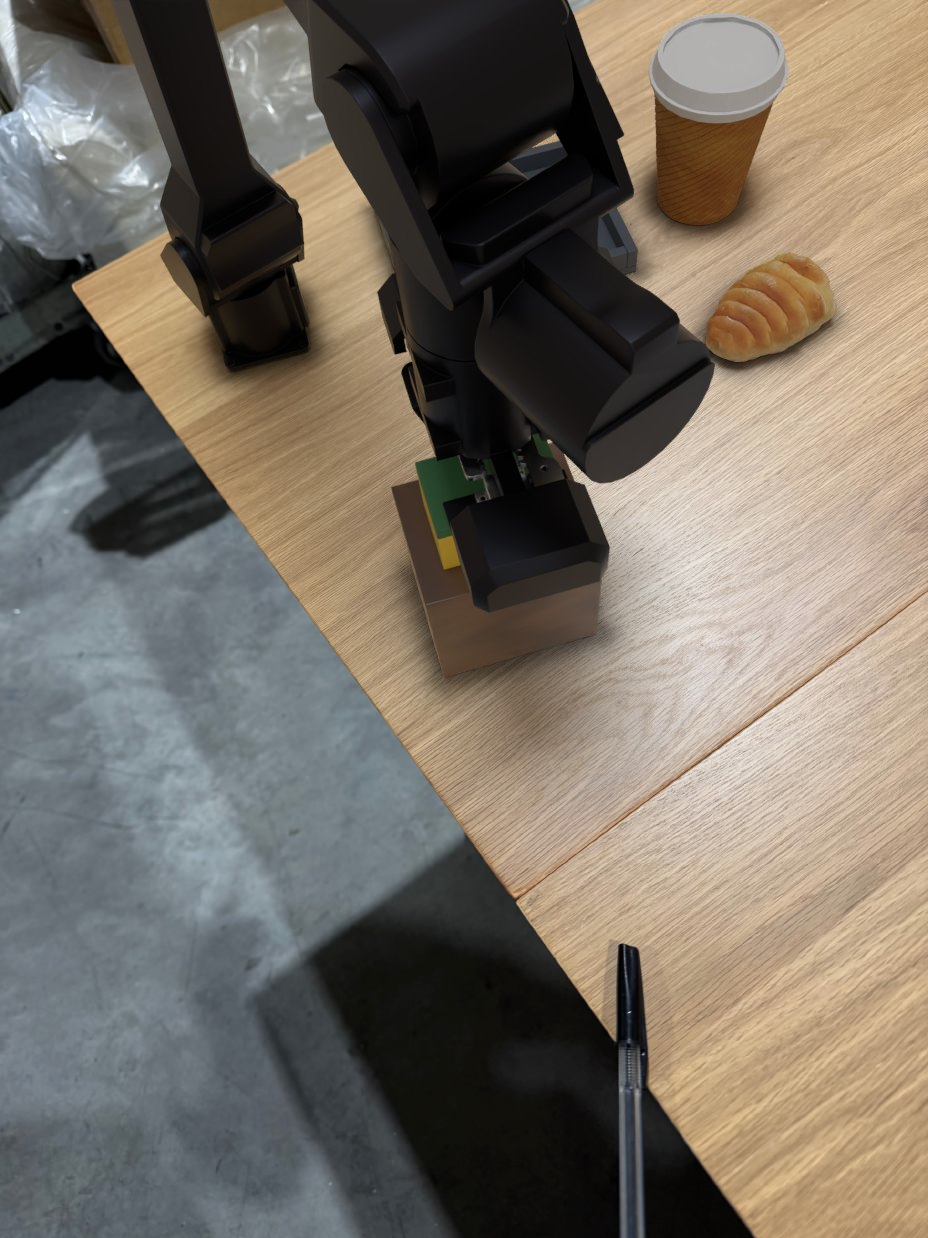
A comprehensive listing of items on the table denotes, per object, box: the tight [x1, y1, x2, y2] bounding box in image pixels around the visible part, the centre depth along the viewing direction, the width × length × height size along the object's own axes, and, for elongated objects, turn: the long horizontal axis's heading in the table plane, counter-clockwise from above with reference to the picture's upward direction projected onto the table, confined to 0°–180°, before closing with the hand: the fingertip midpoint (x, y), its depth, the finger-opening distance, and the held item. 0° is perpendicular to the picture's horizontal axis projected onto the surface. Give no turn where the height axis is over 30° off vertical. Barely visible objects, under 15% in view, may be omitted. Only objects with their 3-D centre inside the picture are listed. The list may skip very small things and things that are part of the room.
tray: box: [375, 140, 639, 275], centre depth 75 cm, size 18×14×2 cm
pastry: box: [705, 252, 837, 363], centre depth 69 cm, size 9×7×4 cm
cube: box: [390, 441, 603, 678], centre depth 58 cm, size 10×8×10 cm
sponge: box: [414, 434, 554, 570], centre depth 51 cm, size 7×4×4 cm, turn 105°
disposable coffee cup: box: [648, 12, 789, 226], centre depth 71 cm, size 10×10×12 cm
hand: (494, 514), depth 53 cm, fingers closed on sponge, 4 cm apart
